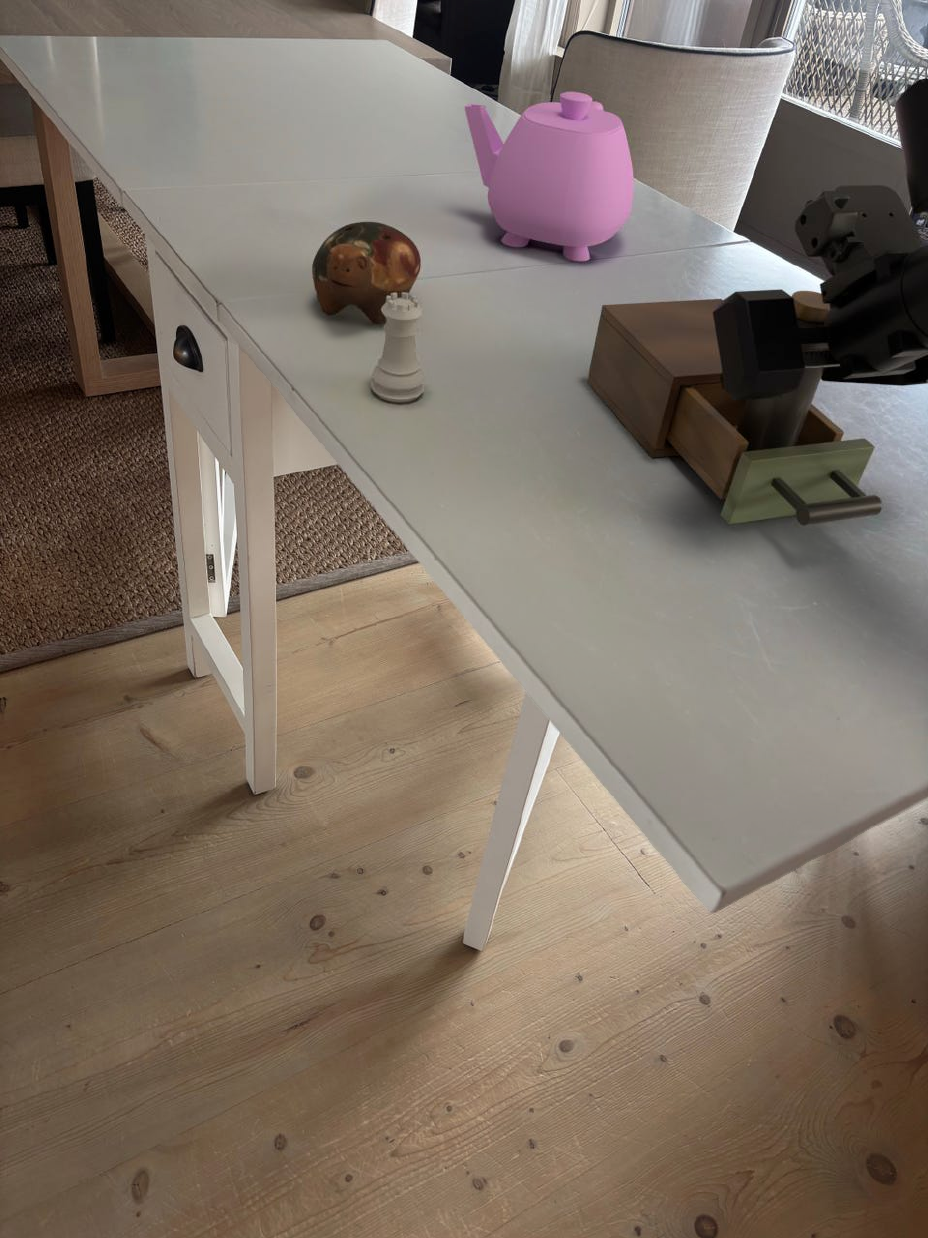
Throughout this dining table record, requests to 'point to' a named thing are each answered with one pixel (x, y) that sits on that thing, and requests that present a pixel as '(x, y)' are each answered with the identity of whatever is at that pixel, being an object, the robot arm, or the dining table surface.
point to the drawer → (770, 463)
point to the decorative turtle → (364, 268)
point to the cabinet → (653, 363)
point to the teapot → (556, 173)
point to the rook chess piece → (399, 352)
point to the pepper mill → (785, 415)
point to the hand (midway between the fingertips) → (773, 377)
